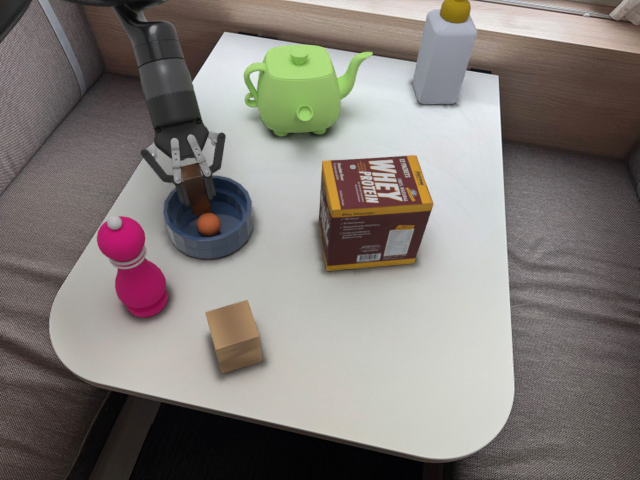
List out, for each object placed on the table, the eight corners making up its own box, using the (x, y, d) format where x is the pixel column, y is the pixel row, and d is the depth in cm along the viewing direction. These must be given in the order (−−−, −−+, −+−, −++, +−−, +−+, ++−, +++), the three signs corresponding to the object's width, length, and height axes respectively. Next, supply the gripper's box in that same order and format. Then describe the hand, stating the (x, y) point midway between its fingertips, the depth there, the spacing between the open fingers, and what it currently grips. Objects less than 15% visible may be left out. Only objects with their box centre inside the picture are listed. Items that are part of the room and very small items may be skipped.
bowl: (178, 270, 85) (172, 250, 81) (162, 207, 93) (156, 186, 89) (263, 247, 89) (262, 227, 84) (240, 188, 97) (238, 167, 92)
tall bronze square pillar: (194, 216, 87) (182, 180, 80) (191, 202, 89) (179, 166, 81) (211, 211, 88) (201, 175, 80) (208, 198, 89) (198, 162, 82)
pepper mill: (114, 297, 81) (72, 215, 65) (155, 273, 84) (124, 188, 69) (138, 329, 78) (99, 250, 62) (180, 302, 81) (153, 221, 65)
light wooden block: (222, 374, 74) (215, 349, 68) (212, 338, 78) (205, 311, 71) (262, 361, 76) (259, 336, 70) (250, 326, 79) (247, 299, 73)
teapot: (249, 166, 100) (243, 98, 88) (244, 96, 113) (239, 28, 101) (376, 158, 103) (387, 92, 90) (357, 91, 116) (365, 25, 103)
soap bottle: (457, 105, 115) (492, -7, 95) (417, 105, 114) (444, -8, 94) (448, 80, 120) (480, -31, 100) (410, 81, 119) (434, -31, 99)
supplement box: (316, 223, 92) (321, 159, 80) (401, 217, 94) (417, 153, 82) (325, 272, 86) (330, 210, 74) (415, 264, 88) (435, 202, 75)
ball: (204, 243, 86) (192, 222, 85) (203, 237, 90) (191, 217, 89) (226, 232, 87) (214, 211, 85) (223, 226, 91) (212, 206, 89)
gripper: (120, 100, 75) (154, 215, 78) (216, 81, 78) (245, 193, 81) (125, 107, 82) (155, 213, 85) (212, 89, 85) (239, 192, 88)
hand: (199, 202), depth 83 cm, fingers closed on tall bronze square pillar, 3 cm apart
